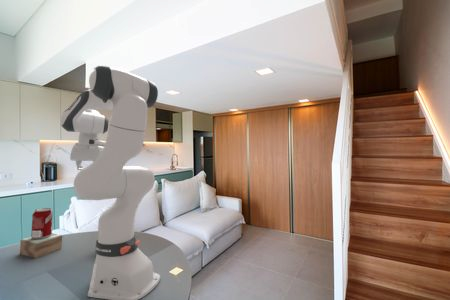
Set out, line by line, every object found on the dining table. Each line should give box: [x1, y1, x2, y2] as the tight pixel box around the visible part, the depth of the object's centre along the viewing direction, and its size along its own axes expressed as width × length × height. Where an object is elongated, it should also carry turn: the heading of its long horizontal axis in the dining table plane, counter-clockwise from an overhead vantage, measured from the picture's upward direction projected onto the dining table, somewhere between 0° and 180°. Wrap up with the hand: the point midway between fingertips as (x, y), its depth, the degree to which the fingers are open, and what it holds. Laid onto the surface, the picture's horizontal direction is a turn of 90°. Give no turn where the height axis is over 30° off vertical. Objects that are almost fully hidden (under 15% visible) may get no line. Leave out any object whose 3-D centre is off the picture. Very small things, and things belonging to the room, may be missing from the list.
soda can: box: [30, 207, 54, 239], centre depth 92 cm, size 7×7×12 cm
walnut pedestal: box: [19, 232, 63, 259], centre depth 92 cm, size 10×10×6 cm
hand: (86, 169), depth 105 cm, fingers open, 8 cm apart
